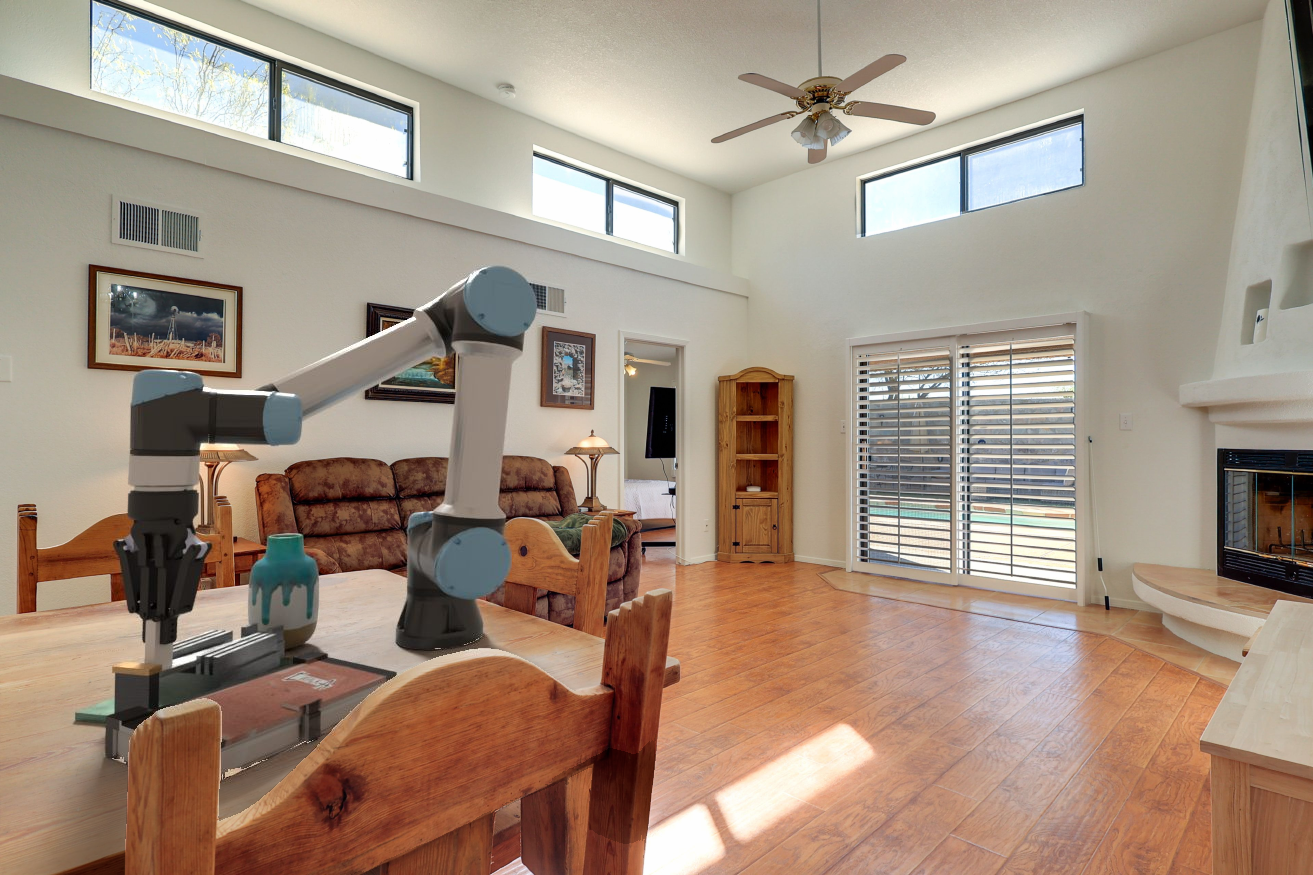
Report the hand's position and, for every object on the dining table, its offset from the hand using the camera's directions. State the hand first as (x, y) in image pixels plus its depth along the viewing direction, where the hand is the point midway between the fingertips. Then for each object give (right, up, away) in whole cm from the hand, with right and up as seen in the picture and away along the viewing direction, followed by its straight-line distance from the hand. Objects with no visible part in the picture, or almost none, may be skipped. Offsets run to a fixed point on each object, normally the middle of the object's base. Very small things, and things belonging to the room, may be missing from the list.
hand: (158, 667), depth 87 cm
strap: (+2, -1, +8) cm, 8 cm away
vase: (+2, -6, +26) cm, 27 cm away
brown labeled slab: (+17, -7, -4) cm, 19 cm away
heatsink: (+1, -6, +7) cm, 9 cm away
